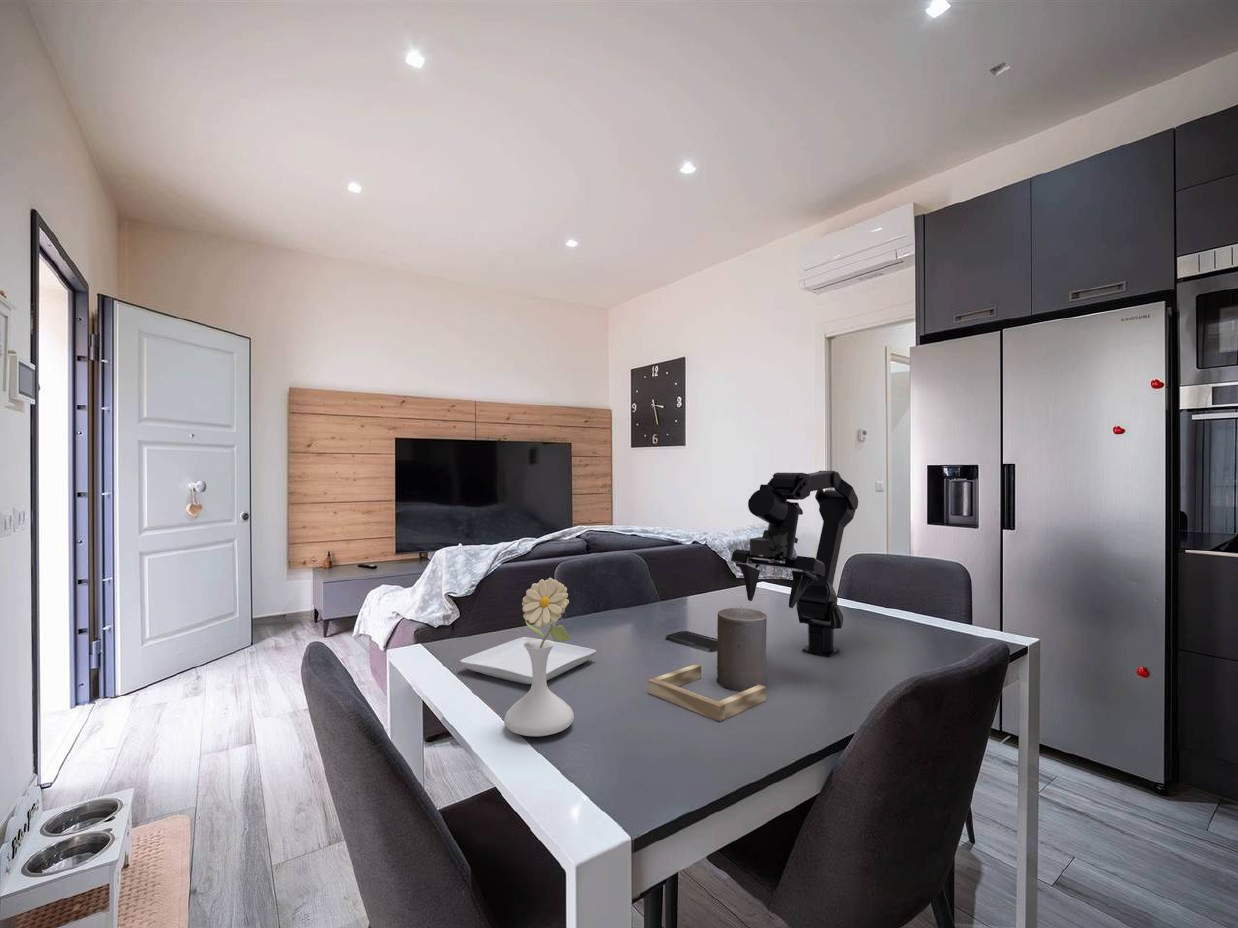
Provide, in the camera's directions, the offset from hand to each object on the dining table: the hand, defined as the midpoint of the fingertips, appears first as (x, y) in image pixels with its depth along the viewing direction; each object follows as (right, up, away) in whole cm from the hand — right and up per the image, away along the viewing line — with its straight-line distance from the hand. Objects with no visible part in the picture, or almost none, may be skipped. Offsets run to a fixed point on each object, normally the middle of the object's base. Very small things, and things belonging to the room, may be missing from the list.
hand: (769, 604), depth 121 cm
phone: (-12, -16, +24) cm, 31 cm away
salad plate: (-50, -16, +6) cm, 52 cm away
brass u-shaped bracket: (-14, -15, -10) cm, 22 cm away
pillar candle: (-6, -15, -3) cm, 17 cm away
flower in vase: (-43, -15, -24) cm, 52 cm away
